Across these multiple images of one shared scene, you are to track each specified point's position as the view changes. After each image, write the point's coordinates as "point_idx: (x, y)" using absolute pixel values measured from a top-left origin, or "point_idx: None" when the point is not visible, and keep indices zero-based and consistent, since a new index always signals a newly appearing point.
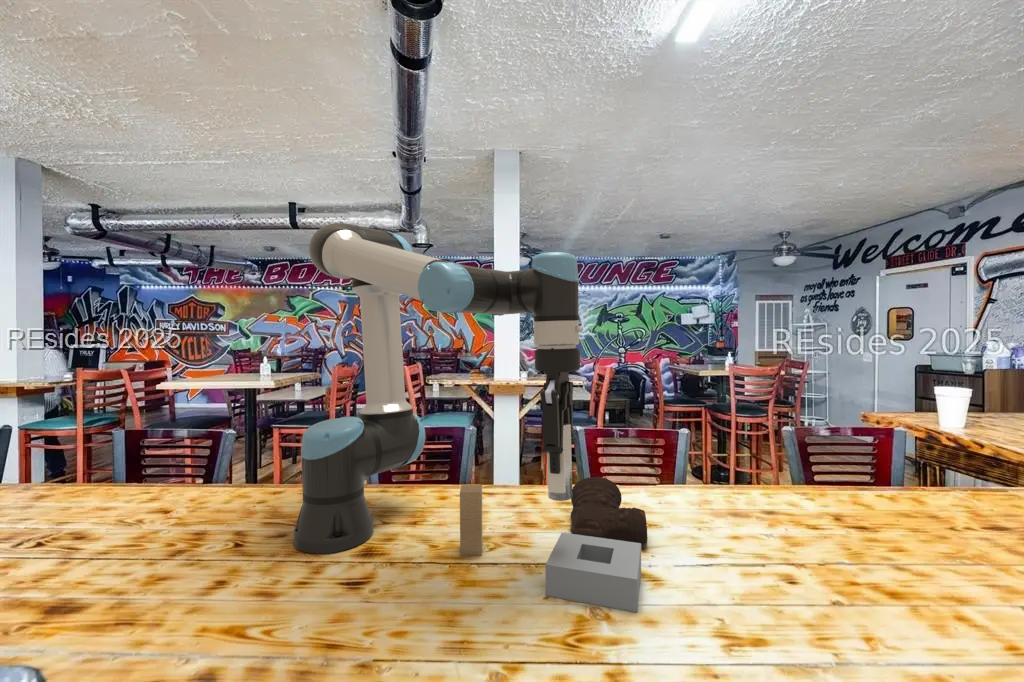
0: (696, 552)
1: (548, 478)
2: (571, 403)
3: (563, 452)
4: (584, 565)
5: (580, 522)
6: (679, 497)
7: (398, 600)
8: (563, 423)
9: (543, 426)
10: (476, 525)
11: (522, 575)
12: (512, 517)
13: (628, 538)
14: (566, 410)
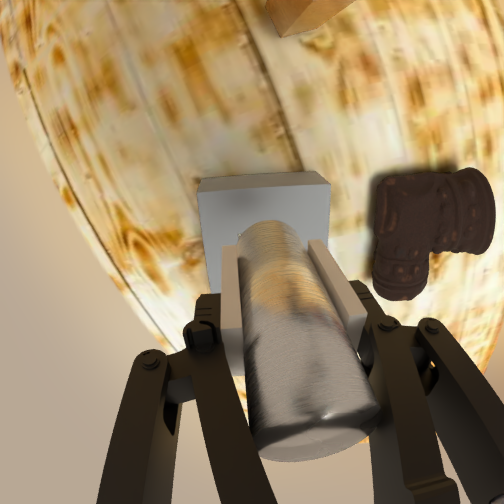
0: None
1: (222, 267)
2: (461, 474)
3: (236, 374)
4: (221, 250)
5: (394, 200)
6: (492, 287)
7: (111, 4)
8: (357, 435)
9: (108, 453)
10: (287, 14)
11: (243, 124)
12: (430, 60)
13: (374, 266)
14: (376, 493)
